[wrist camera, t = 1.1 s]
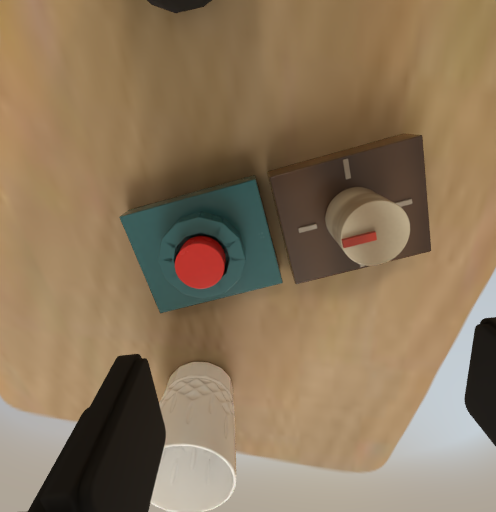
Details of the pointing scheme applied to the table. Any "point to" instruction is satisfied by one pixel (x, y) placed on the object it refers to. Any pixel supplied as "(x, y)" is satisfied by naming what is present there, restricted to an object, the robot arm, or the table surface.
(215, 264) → the button
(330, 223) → the dial
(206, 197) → the button block
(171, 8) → the portable speaker
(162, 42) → the table surface
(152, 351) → the table surface
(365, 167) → the dial panel
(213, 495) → the white cup
